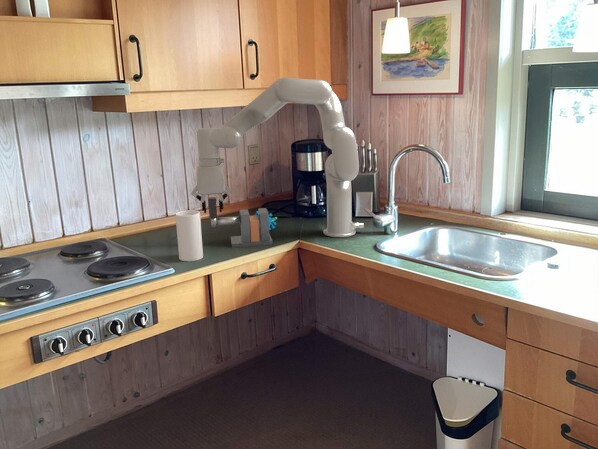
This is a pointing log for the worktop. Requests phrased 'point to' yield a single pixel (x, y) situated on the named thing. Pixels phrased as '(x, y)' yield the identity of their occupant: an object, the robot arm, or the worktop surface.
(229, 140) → the robot arm
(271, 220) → the blue spiky toy
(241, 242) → the bracket
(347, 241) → the worktop surface
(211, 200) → the shaft
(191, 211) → the cup
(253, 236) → the orange square block
